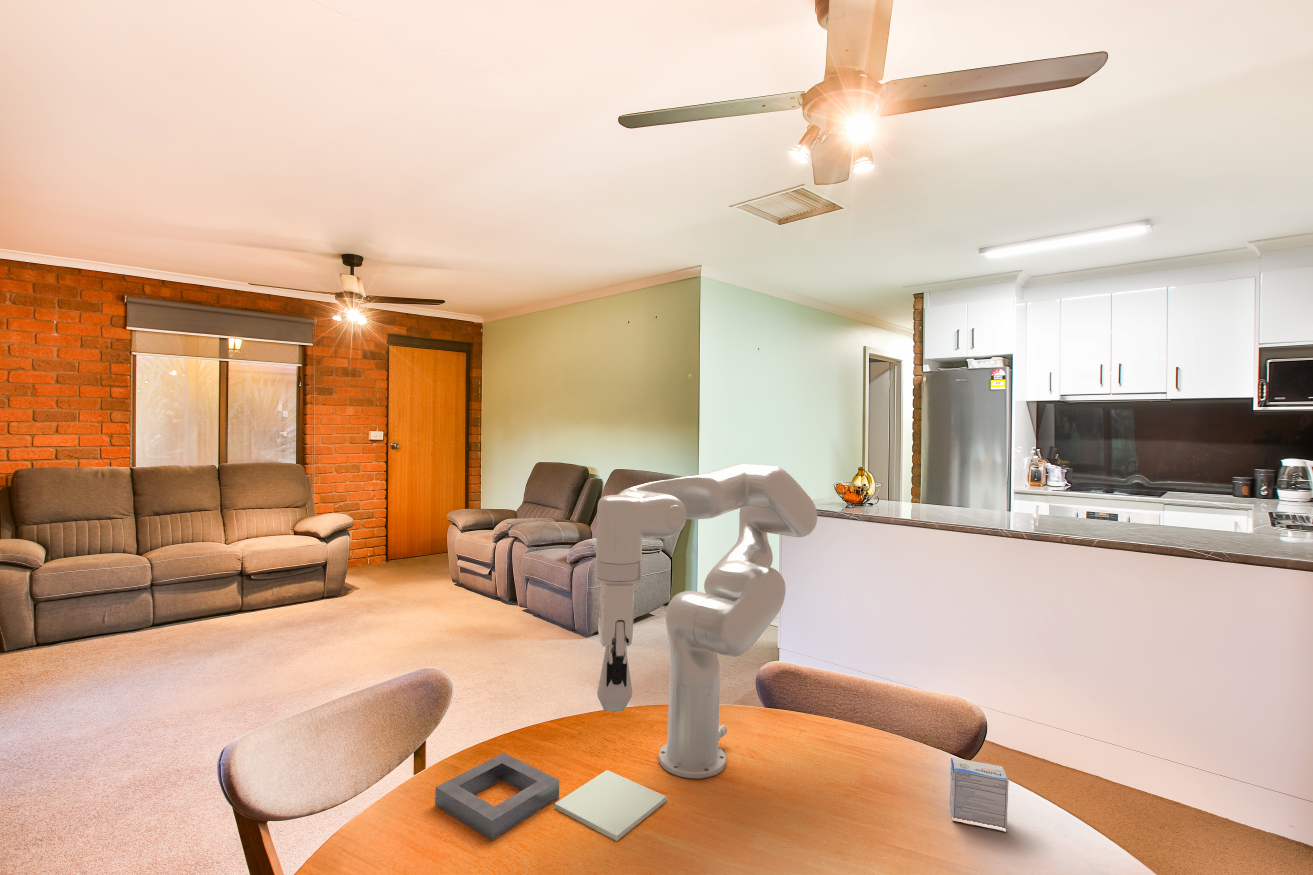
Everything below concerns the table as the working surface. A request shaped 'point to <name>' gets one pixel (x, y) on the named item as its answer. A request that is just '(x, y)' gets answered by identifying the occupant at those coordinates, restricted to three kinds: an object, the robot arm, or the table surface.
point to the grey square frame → (501, 818)
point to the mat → (610, 804)
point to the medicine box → (978, 792)
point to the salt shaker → (613, 688)
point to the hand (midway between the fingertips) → (615, 681)
